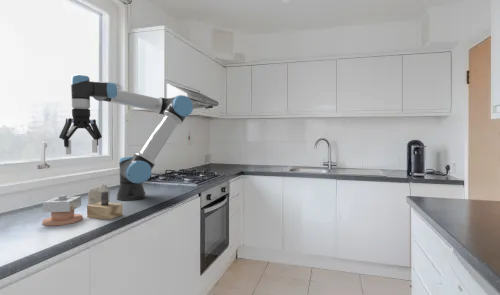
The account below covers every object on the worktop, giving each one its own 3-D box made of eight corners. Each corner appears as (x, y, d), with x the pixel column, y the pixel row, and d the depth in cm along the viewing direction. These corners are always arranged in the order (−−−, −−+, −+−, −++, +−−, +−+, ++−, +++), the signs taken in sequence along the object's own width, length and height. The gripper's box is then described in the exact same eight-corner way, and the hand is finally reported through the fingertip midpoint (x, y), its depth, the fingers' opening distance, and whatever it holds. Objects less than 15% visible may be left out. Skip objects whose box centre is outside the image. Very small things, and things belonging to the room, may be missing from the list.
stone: (91, 211, 138) (90, 186, 137) (86, 209, 141) (85, 185, 141) (112, 206, 146) (112, 183, 146) (107, 205, 149) (107, 182, 149)
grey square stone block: (56, 206, 127) (56, 197, 126) (81, 205, 128) (81, 196, 128) (43, 212, 117) (42, 202, 117) (69, 211, 118) (69, 201, 118)
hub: (68, 214, 132) (67, 191, 131) (90, 218, 126) (89, 193, 126) (34, 223, 119) (33, 197, 118) (57, 227, 113) (56, 200, 113)
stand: (103, 212, 136) (102, 189, 135) (122, 215, 131) (122, 191, 130) (87, 216, 128) (86, 192, 128) (107, 220, 123) (106, 195, 123)
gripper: (98, 110, 153) (99, 151, 154) (49, 106, 130) (50, 154, 131) (108, 110, 150) (109, 152, 151) (60, 105, 127) (61, 155, 128)
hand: (82, 153), depth 141 cm, fingers open, 13 cm apart
